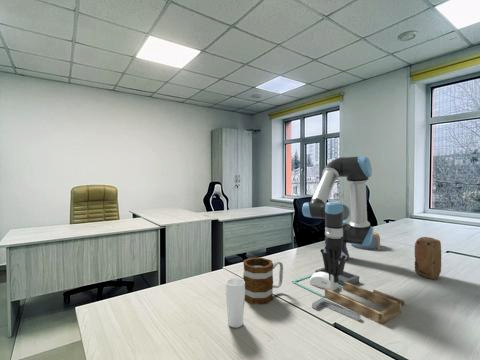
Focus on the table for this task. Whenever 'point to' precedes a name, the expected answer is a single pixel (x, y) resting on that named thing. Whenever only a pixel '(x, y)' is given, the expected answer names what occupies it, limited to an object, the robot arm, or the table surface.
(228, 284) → the drinking glass
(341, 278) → the grey tray
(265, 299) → the mug
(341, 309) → the grey l-shaped bar
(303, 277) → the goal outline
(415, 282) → the table surface
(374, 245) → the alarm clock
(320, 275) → the computer mouse
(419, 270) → the block
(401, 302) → the walnut dowel
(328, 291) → the wooden u-shaped frame
